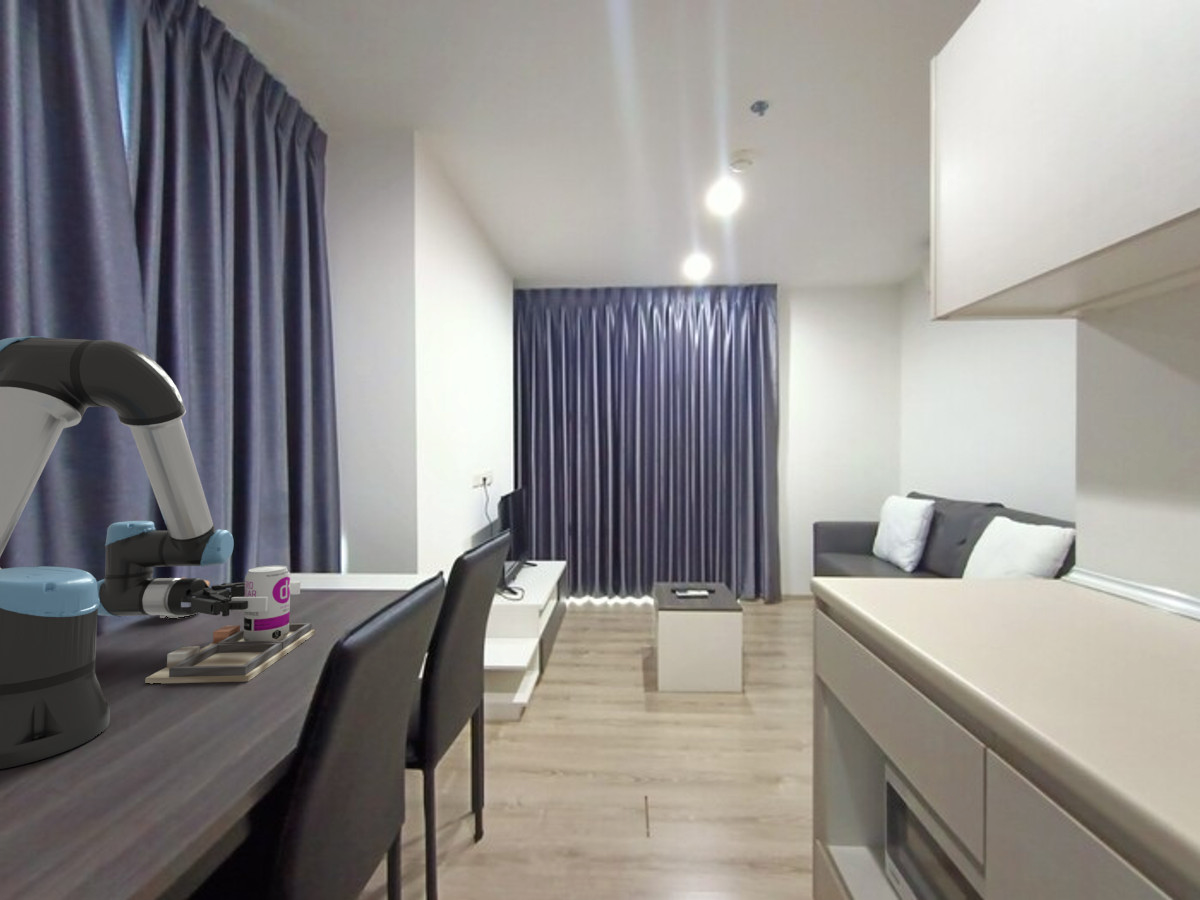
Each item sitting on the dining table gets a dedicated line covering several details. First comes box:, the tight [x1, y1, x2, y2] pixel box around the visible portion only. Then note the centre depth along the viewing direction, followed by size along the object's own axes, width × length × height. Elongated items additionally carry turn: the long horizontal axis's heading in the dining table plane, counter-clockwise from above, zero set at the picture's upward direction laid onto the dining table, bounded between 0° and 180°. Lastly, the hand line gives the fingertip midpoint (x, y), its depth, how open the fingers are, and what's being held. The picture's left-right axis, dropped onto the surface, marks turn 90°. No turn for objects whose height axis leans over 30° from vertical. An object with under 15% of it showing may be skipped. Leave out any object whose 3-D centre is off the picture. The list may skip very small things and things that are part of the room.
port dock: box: [144, 622, 316, 685], centre depth 105 cm, size 26×17×4 cm, turn 5°
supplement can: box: [243, 564, 291, 641], centre depth 112 cm, size 8×8×15 cm
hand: (284, 595), depth 112 cm, fingers open, 13 cm apart
